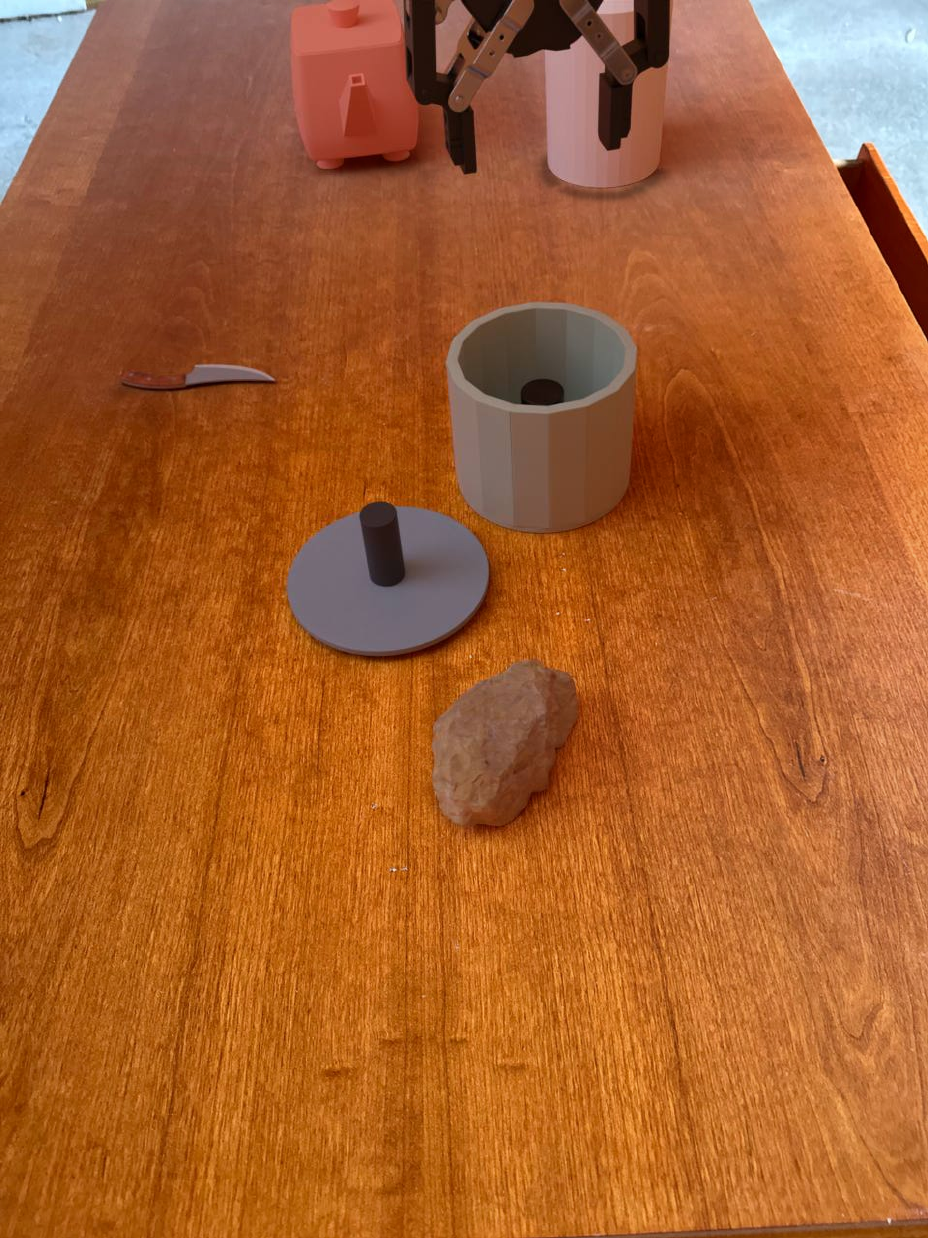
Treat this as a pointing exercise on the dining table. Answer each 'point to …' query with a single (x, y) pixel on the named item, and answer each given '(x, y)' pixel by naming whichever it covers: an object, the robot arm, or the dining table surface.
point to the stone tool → (501, 742)
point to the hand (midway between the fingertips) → (538, 156)
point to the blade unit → (542, 393)
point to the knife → (192, 376)
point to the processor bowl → (542, 415)
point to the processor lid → (388, 580)
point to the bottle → (576, 111)
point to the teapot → (352, 81)
